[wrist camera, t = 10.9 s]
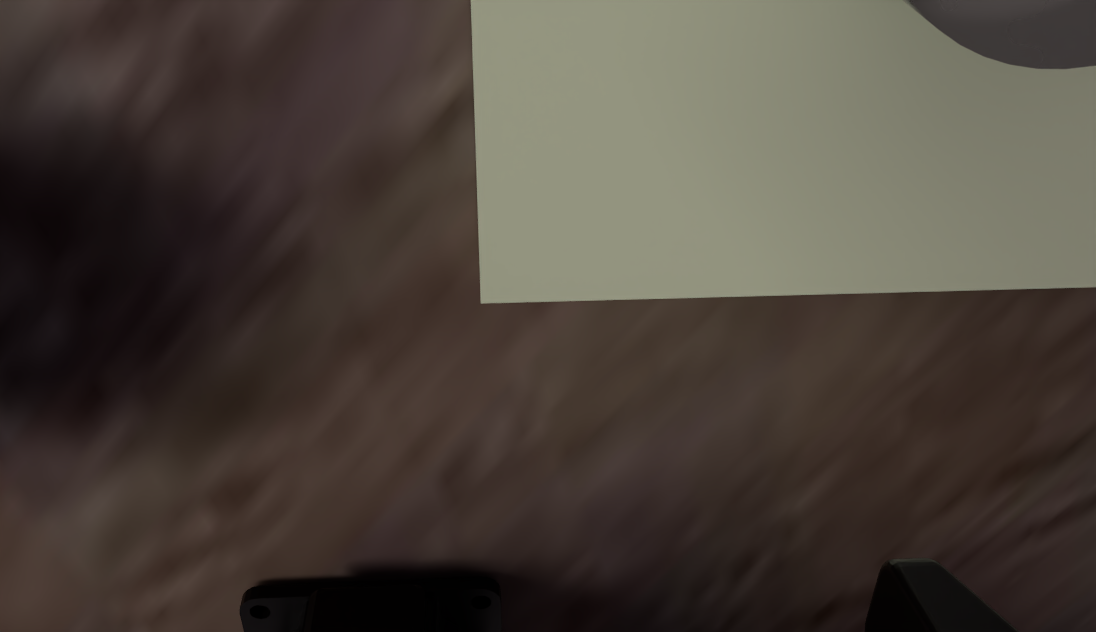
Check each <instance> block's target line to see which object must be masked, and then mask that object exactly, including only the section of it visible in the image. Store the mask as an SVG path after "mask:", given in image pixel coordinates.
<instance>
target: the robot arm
mask: <svg viewBox="0 0 1096 632" xmlns="http://www.w3.org/2000/svg"><path fill="white" fill-rule="evenodd" d="M477 596H484V597H477ZM259 605H261V606H259ZM240 616H241V621H242V625H243V629H244V632H502V630H501V592H500V586H499V584H498V583H497V582H496V581H495V580H493V579H491V578H488V577H461V578H437V579H414V580H390V581H366V582H342V583H319V584H295V585H271V586H257V587H252V588H250V589H248V590H247V591H246V592H245V593H244V595H243V597H242V602H241V606H240ZM865 632H1019V631H1018V630H1017V629H1015V628H1014V627H1013V626H1012V625H1011V624H1010V623H1008V622H1007V621H1006V620H1005V619H1004V618H1003V617H1001V616H1000V615H999V614H998V613H997V612H996V611H994V610H993V609H992V608H991V607H990V606H989V605H988V604H986V603H985V602H984V601H983V600H982V599H981V598H979V597H978V596H977V595H976V594H975V593H974V592H972V591H971V590H970V589H969V588H968V587H967V586H965V585H964V584H963V583H962V582H961V581H960V580H958V579H957V578H956V577H955V576H954V575H953V574H952V573H950V572H949V571H948V570H947V569H946V568H945V567H943V566H942V565H941V564H940V563H938V562H936V561H934V560H932V559H929V558H909V559H891V560H888V561H886V562H885V563H884V564H883V566H882V567H881V569H880V572H879V575H878V579H877V582H876V586H875V589H874V593H873V597H872V600H871V604H870V607H869V611H868V614H867V618H866V623H865Z"/></svg>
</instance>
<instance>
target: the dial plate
mask: <svg viewBox="0 0 1096 632" xmlns="http://www.w3.org/2000/svg"><path fill="white" fill-rule="evenodd" d="M471 19H472V49H473V80H474V110H475V140H476V171H477V201H478V231H479V262H480V292H481V303H514V302H551V301H589V300H627V299H665V298H703V297H740V296H778V295H816V294H854V293H892V292H929V291H967V290H1005V289H1043V288H1081V287H1096V66H1089V67H1080V68H1071V69H1035V68H1028V67H1022V66H1015V65H1009V64H1006V63H1003V62H999V61H996V60H993V59H990V58H986V57H983V56H981V55H979V54H977V53H975V52H973V51H971V50H969V49H967V48H965V47H963V46H961V45H959V44H958V43H956V42H955V41H954V40H952V39H951V38H949V37H948V36H947V35H945V34H944V33H942V32H941V31H940V30H938V29H937V28H936V27H935V26H933V25H932V24H931V23H930V22H928V21H927V20H926V19H925V18H924V17H922V16H921V15H920V14H919V13H918V12H916V11H915V10H914V9H913V8H911V7H910V6H909V5H908V4H907V3H905V2H904V1H903V0H471Z"/></svg>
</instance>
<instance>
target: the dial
mask: <svg viewBox="0 0 1096 632" xmlns="http://www.w3.org/2000/svg"><path fill="white" fill-rule="evenodd" d="M903 1H904V2H905V3H907V4H908V5H909V6H910V7H911V8H913V9H914V10H915V11H916V12H918V13H919V14H920V15H921V16H922V17H924V18H925V19H926V20H927V21H928V22H930V23H931V24H932V25H933V26H935V27H936V28H937V29H938V30H940V31H941V32H942V33H944V34H945V35H947V36H948V37H949V38H951V39H952V40H954V41H955V42H956V43H958V44H959V45H961V46H963V47H965V48H967V49H969V50H971V51H973V52H975V53H977V54H979V55H981V56H983V57H986V58H990V59H993V60H996V61H999V62H1003V63H1006V64H1009V65H1015V66H1022V67H1028V68H1035V69H1071V68H1080V67H1089V66H1096V0H903Z"/></svg>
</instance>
